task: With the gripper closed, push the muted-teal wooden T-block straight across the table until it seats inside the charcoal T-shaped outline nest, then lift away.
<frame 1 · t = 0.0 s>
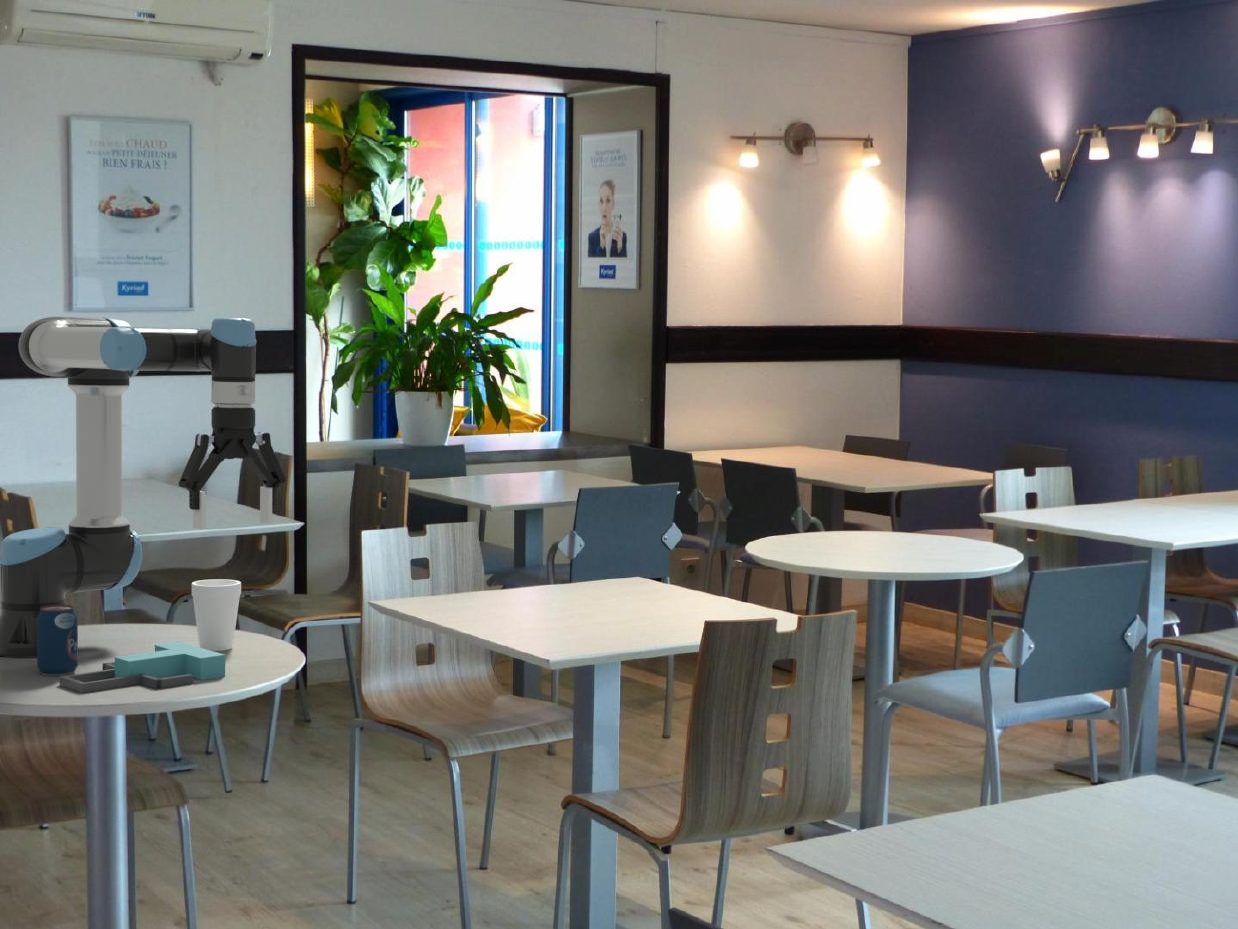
hand: (233, 526, 273), 28 cm above the table, tool pointing down, fingers open, 13 cm apart
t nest: (121, 681, 274), on the table
t block: (162, 675, 280), on the table
foam cup: (216, 648, 306), on the table
soda can: (57, 673, 280), on the table
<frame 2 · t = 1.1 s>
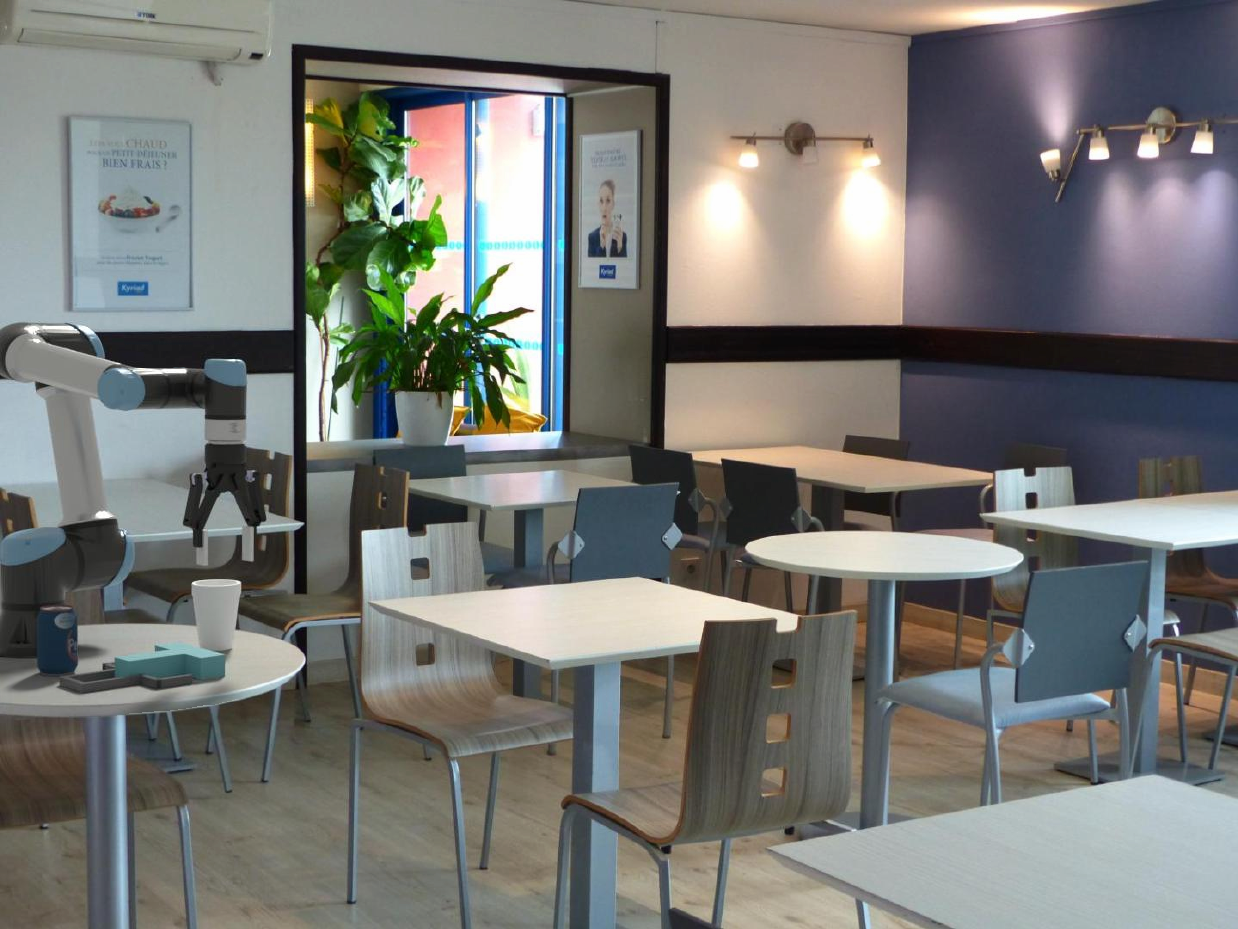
hand: (225, 562, 287), 19 cm above the table, tool pointing down, fingers open, 9 cm apart
nothing on the table moved.
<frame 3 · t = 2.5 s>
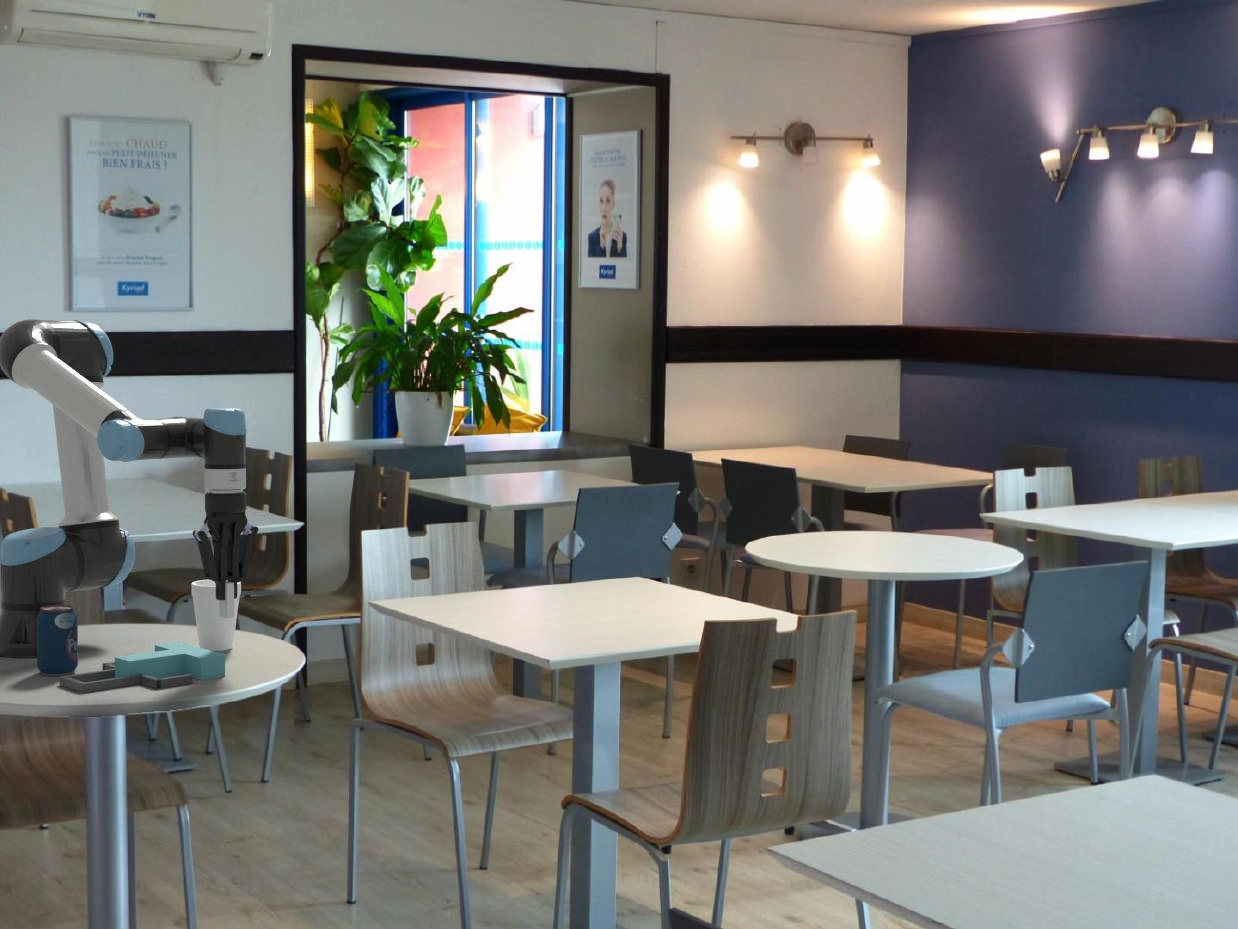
hand: (226, 616, 288), 9 cm above the table, tool pointing down, fingers closed
nothing on the table moved.
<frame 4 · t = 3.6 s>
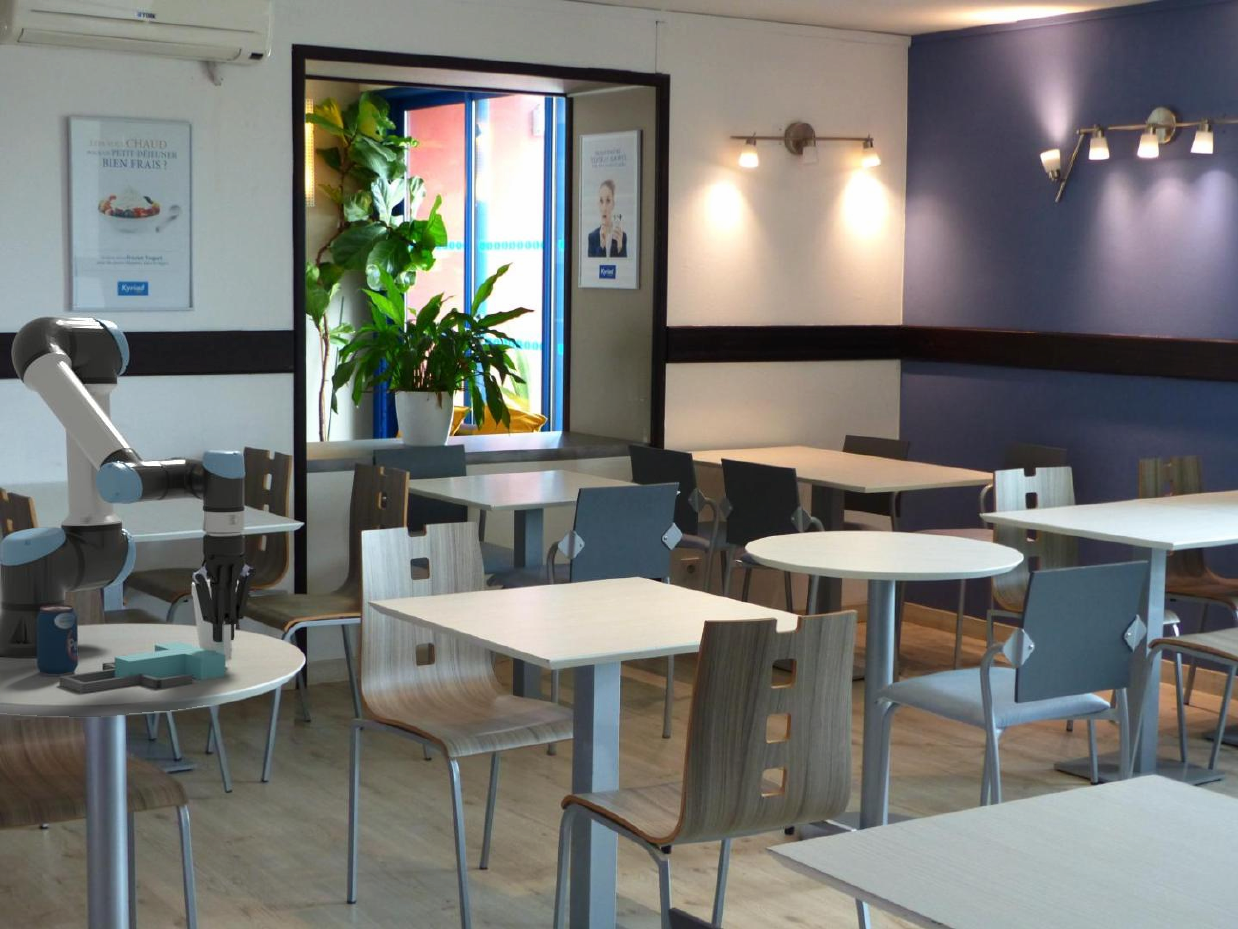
hand: (223, 658, 289), 1 cm above the table, tool pointing down, fingers closed
nothing on the table moved.
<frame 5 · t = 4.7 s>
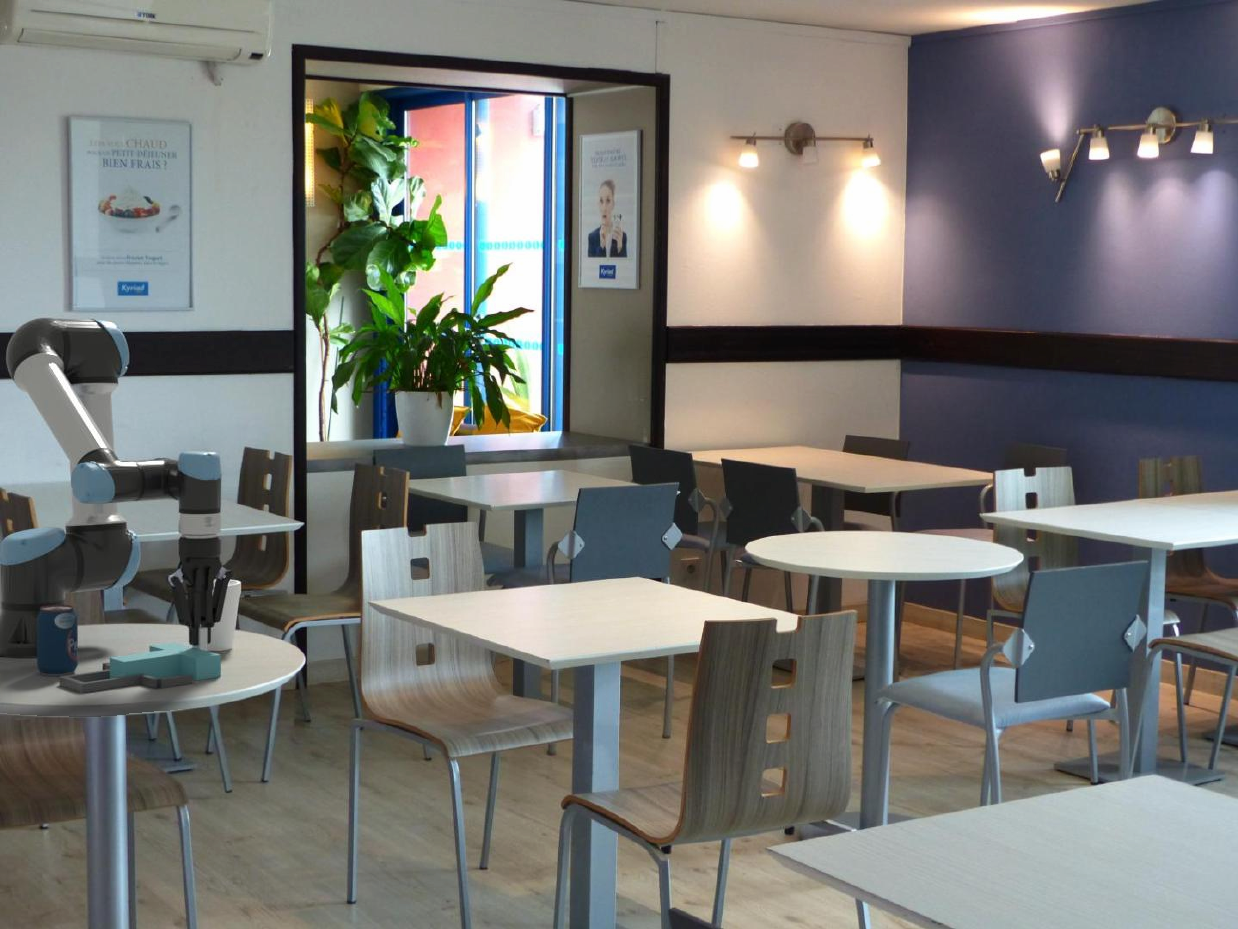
hand: (199, 662, 285), 1 cm above the table, tool pointing down, fingers closed
t block: (157, 675, 279), on the table
everything else where it was.
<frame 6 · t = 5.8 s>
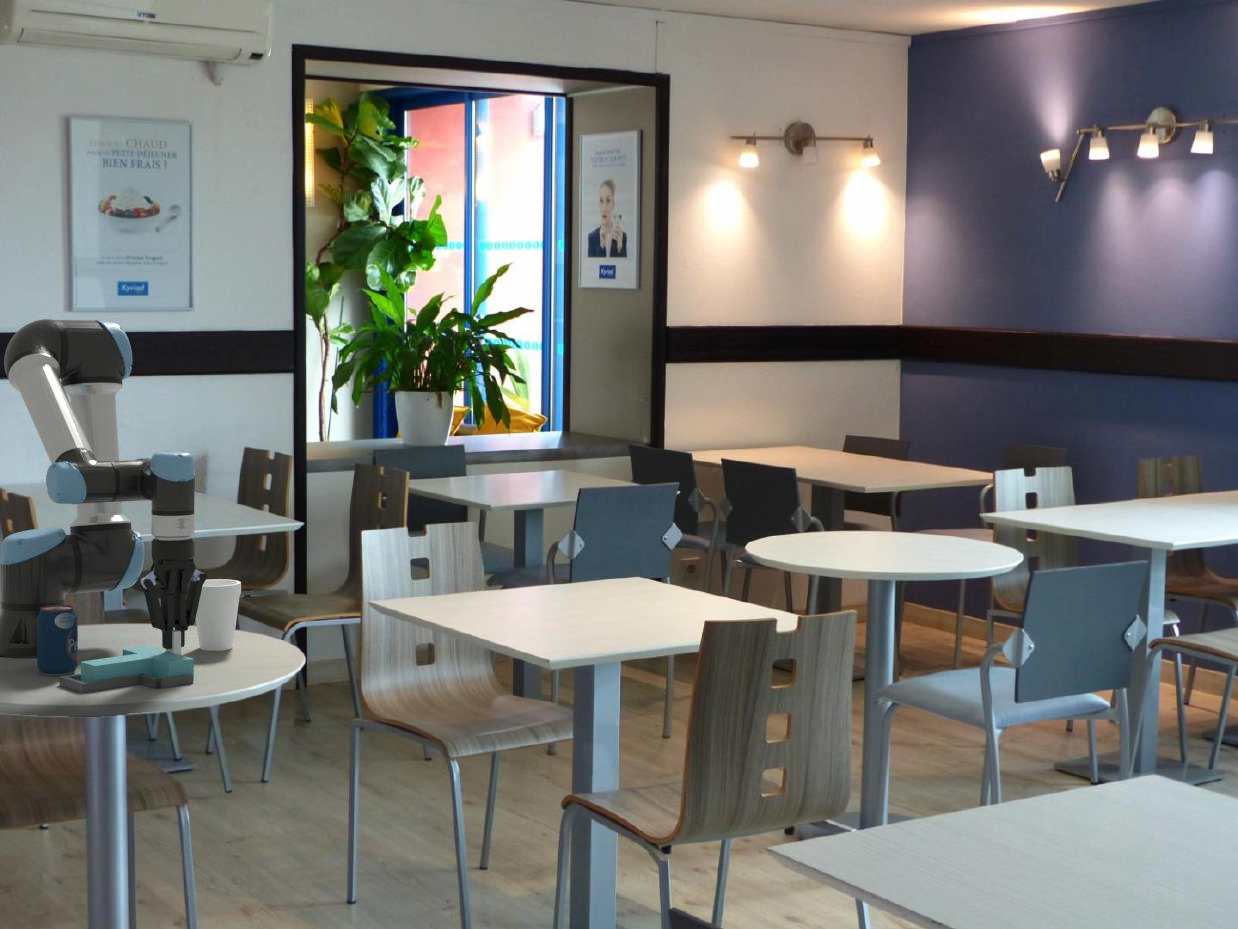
hand: (173, 665, 281), 1 cm above the table, tool pointing down, fingers closed
t block: (129, 680, 275), on the table, touching gripper
everything else where it was.
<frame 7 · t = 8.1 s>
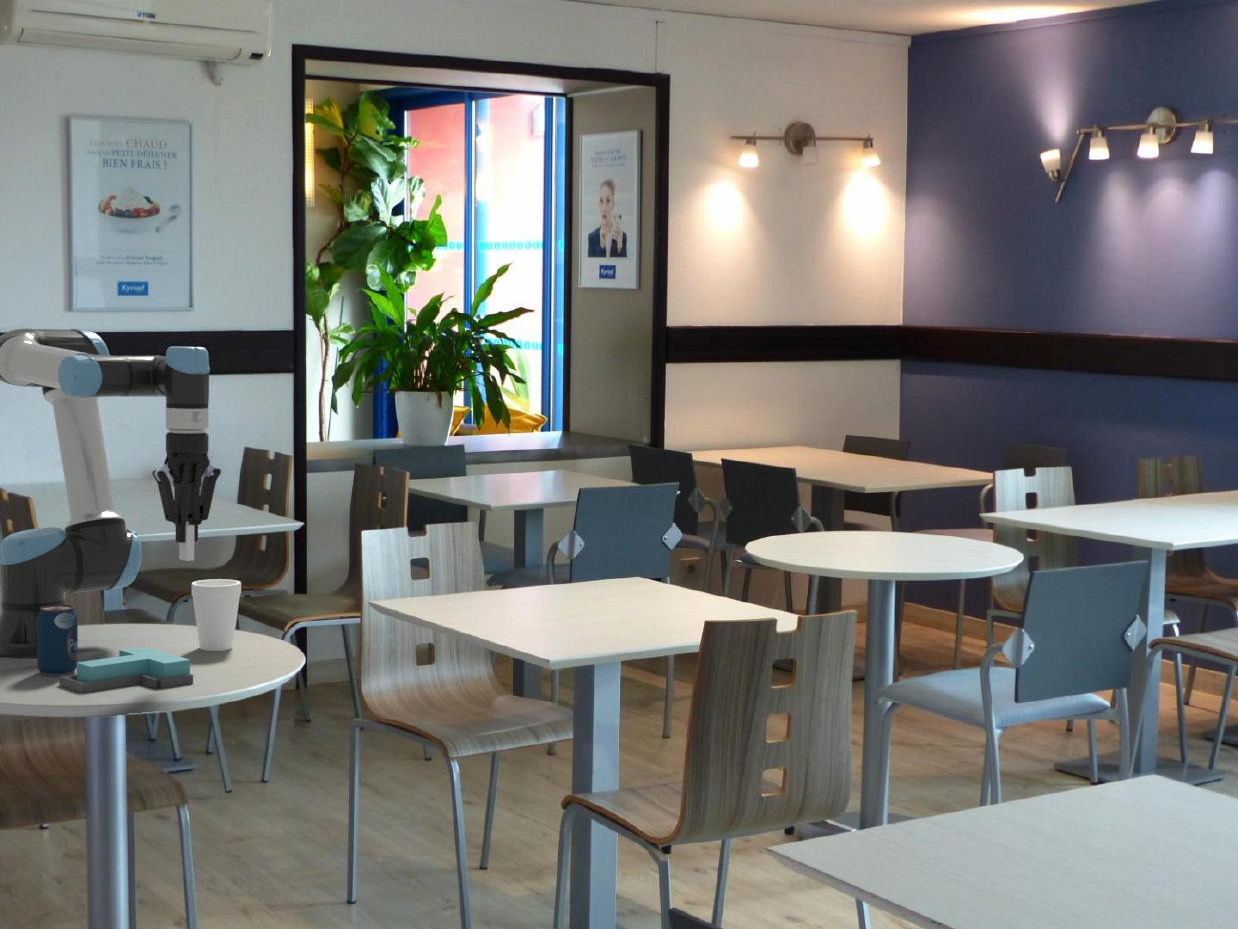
hand: (186, 559, 282), 21 cm above the table, tool pointing down, fingers closed
t block: (126, 681, 274), on the table
everything else where it was.
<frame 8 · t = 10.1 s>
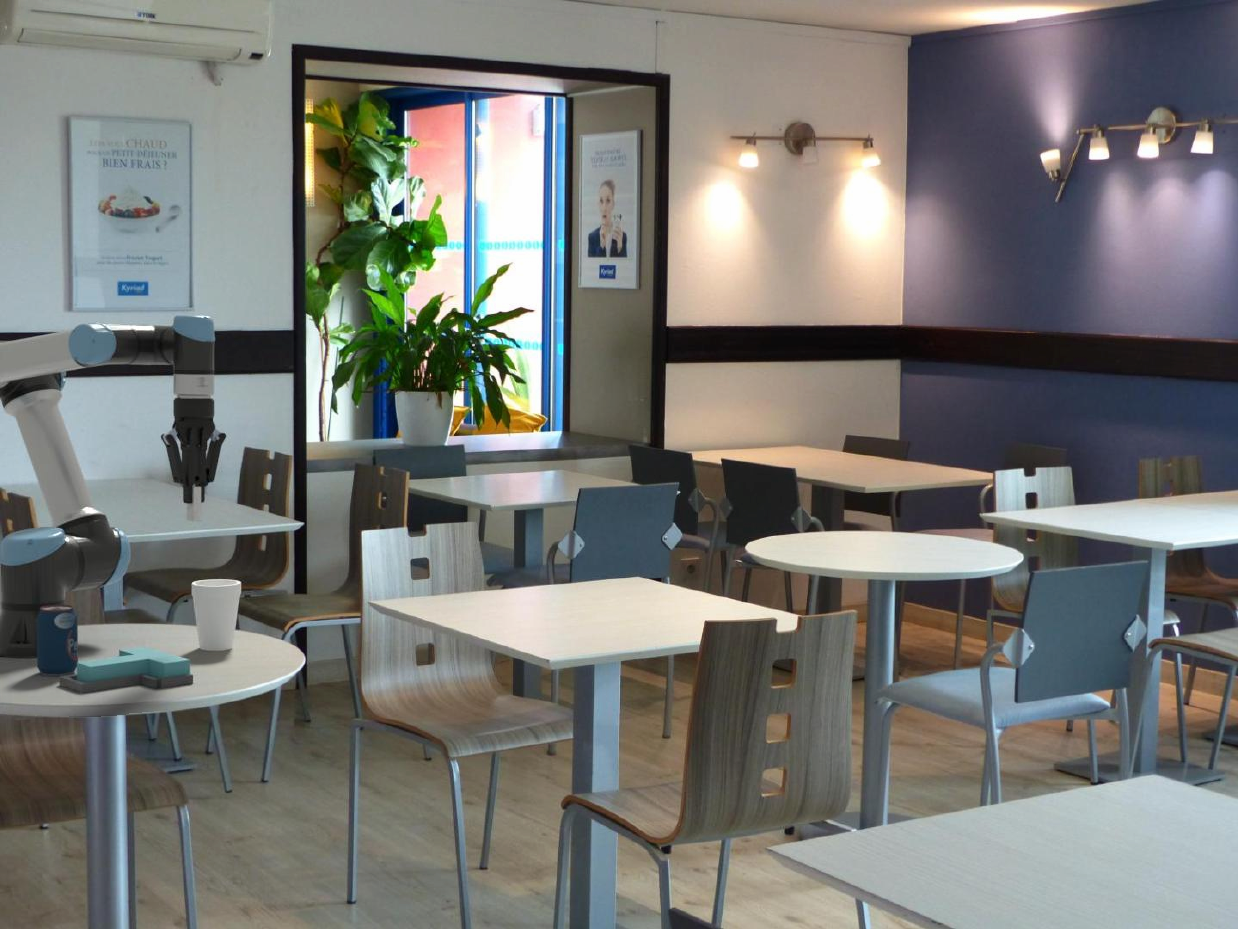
hand: (193, 520, 295), 26 cm above the table, tool pointing down, fingers closed
nothing on the table moved.
at the end: t block 0.8 cm off-centre on the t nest, point 0.0 cm above the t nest's base; t block tilted 0°; t block moved 7.2 cm from its start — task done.
